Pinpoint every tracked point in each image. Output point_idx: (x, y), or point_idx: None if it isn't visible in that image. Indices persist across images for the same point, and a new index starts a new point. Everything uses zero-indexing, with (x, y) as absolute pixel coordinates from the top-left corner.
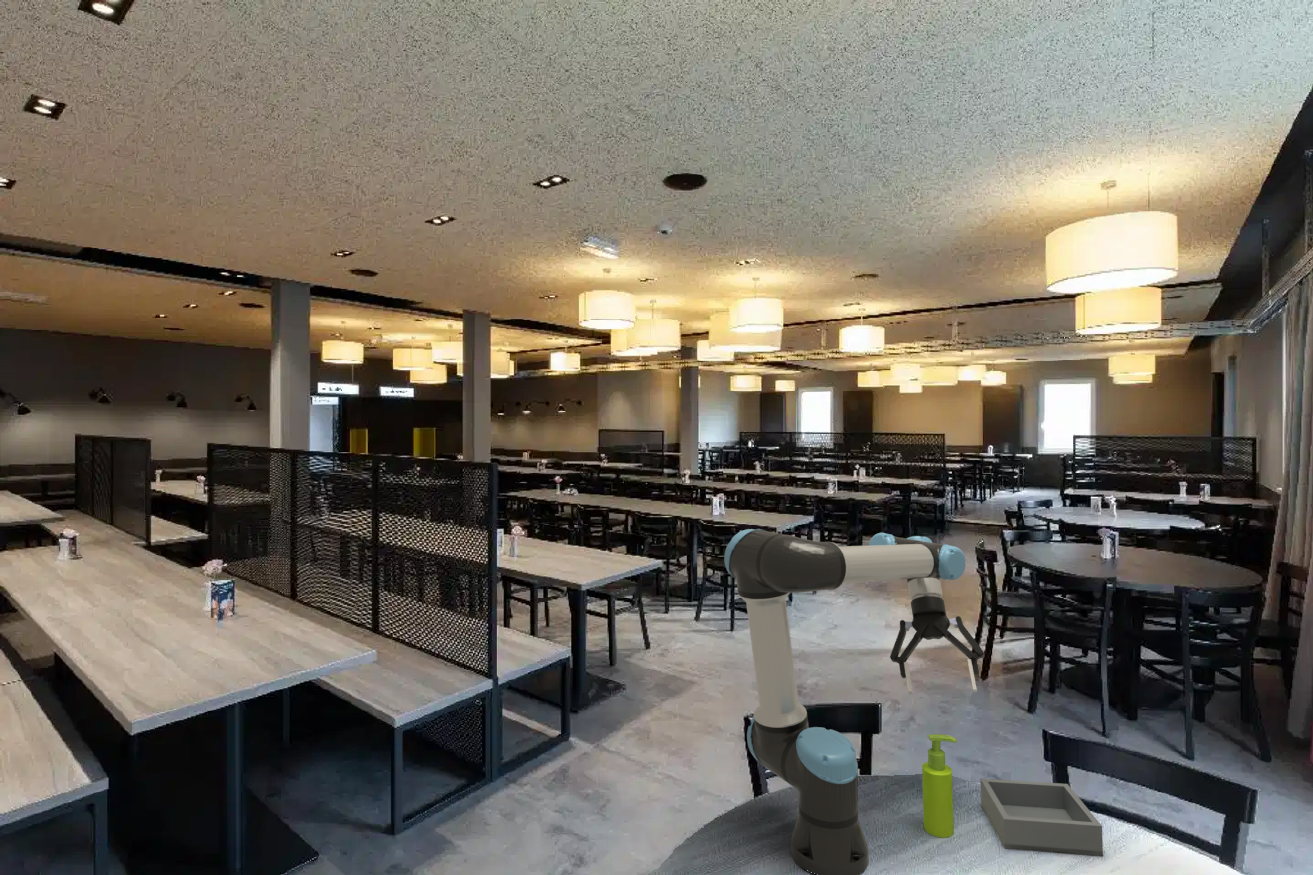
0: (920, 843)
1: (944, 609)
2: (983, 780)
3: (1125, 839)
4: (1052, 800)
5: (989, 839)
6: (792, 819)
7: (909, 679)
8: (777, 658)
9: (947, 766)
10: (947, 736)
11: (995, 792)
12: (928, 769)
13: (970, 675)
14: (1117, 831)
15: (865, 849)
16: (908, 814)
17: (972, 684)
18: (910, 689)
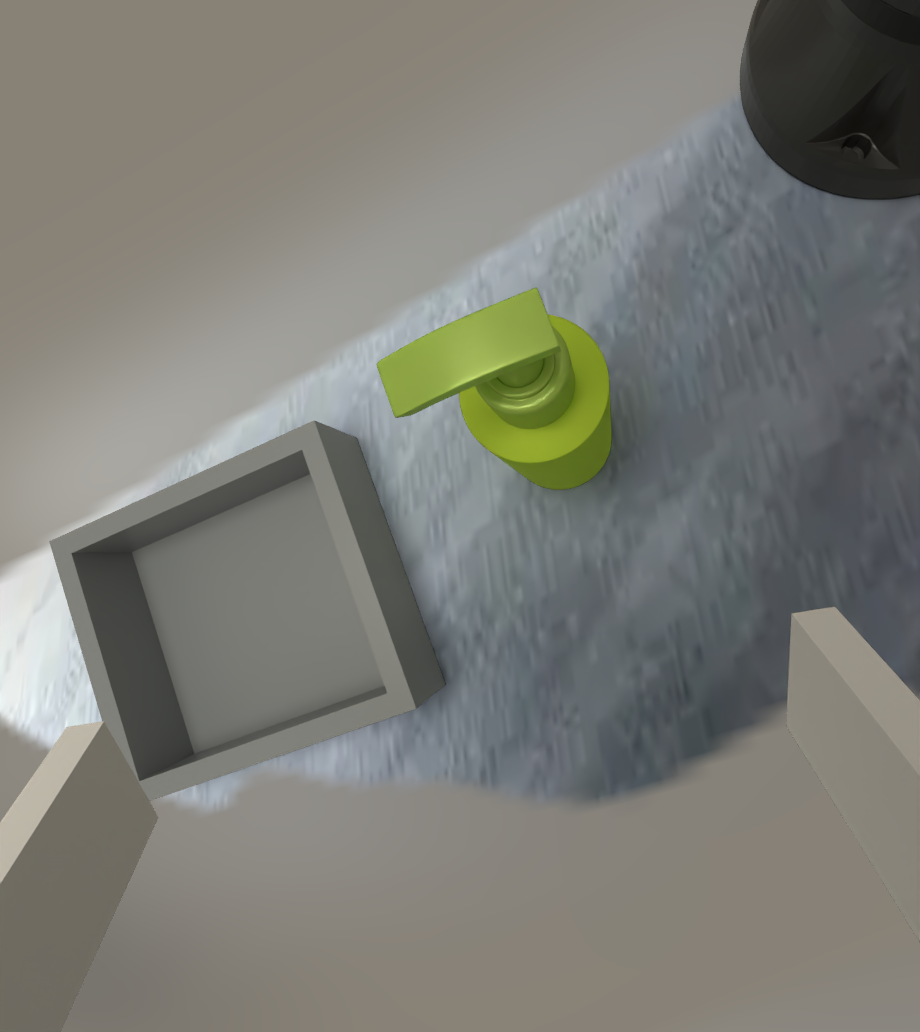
0: (602, 318)
1: None
2: (403, 695)
3: (67, 667)
4: (209, 750)
5: (401, 466)
6: None
7: (880, 717)
8: None
9: (483, 427)
10: (432, 371)
11: (376, 692)
12: (567, 338)
13: (13, 867)
14: (81, 705)
15: (757, 43)
16: (680, 484)
17: (72, 764)
18: (812, 625)
